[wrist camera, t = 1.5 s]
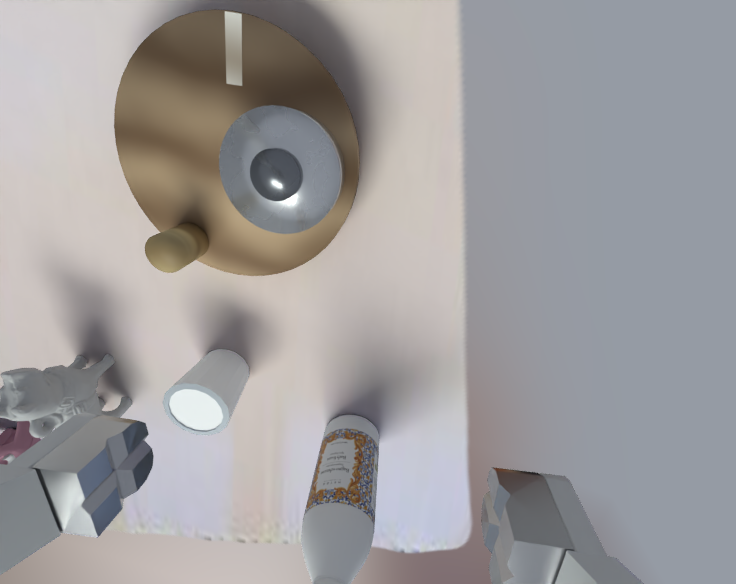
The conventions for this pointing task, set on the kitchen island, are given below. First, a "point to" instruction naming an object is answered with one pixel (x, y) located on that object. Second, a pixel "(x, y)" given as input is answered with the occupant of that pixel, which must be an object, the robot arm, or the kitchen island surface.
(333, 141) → the cover
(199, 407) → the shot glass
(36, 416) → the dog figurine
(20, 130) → the kitchen island surface
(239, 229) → the turntable
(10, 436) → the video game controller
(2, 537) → the robot arm
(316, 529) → the bath foam
